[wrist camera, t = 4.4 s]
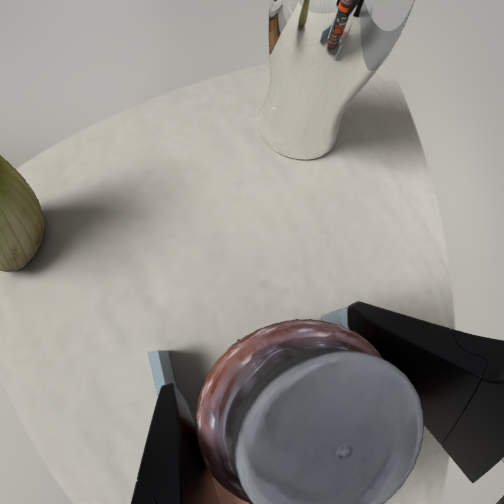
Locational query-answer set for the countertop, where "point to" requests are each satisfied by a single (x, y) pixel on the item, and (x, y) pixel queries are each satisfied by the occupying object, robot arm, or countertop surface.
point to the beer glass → (322, 67)
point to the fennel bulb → (18, 220)
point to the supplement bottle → (308, 418)
